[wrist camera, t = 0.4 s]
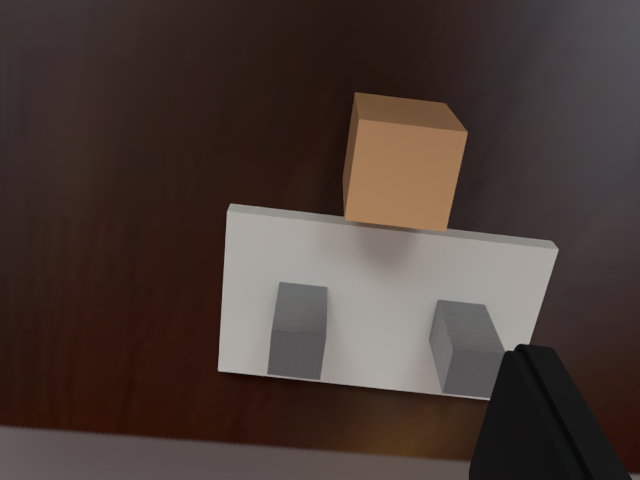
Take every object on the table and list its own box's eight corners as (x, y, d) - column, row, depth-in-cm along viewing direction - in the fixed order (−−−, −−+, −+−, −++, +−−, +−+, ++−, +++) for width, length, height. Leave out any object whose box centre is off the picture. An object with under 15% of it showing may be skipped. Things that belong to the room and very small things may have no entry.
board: (230, 203, 45) (227, 211, 43) (551, 240, 45) (558, 249, 44) (221, 359, 51) (218, 371, 49) (505, 390, 51) (510, 402, 50)
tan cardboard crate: (354, 92, 41) (359, 119, 34) (445, 103, 41) (467, 132, 34) (342, 178, 44) (344, 220, 37) (428, 188, 44) (445, 231, 37)
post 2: (434, 289, 47) (453, 349, 40) (480, 294, 47) (507, 355, 40) (426, 328, 49) (442, 393, 42) (470, 333, 49) (494, 398, 42)
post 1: (281, 272, 47) (271, 329, 40) (327, 277, 47) (326, 335, 40) (277, 312, 48) (267, 374, 41) (322, 317, 49) (320, 380, 41)
